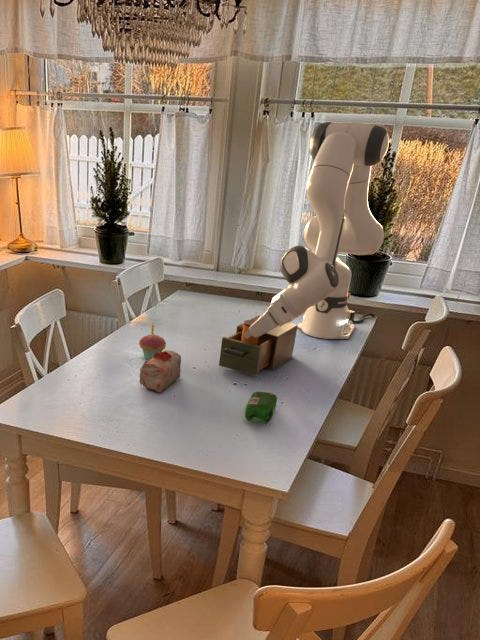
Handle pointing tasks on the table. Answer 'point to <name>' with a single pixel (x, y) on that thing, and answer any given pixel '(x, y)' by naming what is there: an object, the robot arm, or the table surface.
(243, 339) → the cookie roll
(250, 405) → the snack package
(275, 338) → the cabinet
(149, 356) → the cupcake
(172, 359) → the food item
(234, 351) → the drawer
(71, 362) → the table surface
